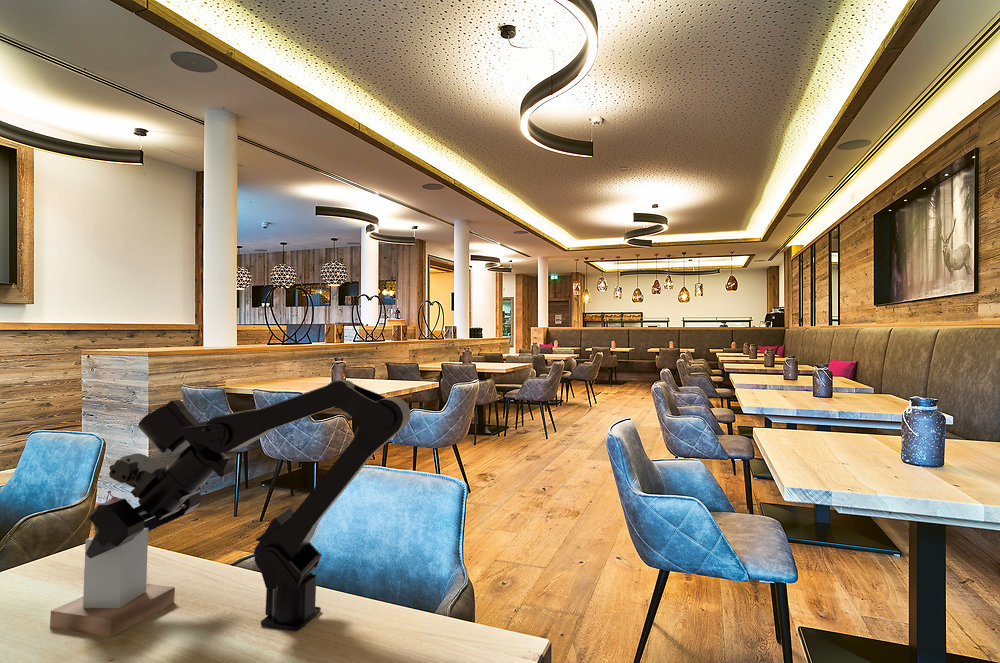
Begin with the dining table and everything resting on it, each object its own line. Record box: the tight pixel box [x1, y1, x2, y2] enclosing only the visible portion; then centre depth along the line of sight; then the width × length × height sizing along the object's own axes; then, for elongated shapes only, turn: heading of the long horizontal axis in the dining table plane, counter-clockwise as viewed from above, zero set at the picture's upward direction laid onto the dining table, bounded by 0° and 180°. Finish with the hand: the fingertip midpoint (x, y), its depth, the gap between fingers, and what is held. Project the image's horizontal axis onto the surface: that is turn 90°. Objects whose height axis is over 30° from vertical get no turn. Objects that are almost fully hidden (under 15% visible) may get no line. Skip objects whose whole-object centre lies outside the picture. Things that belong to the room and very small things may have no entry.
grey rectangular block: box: [82, 528, 149, 608], centre depth 81 cm, size 6×6×11 cm
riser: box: [49, 583, 176, 638], centre depth 81 cm, size 11×11×3 cm
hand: (111, 544), depth 81 cm, fingers open, 9 cm apart
